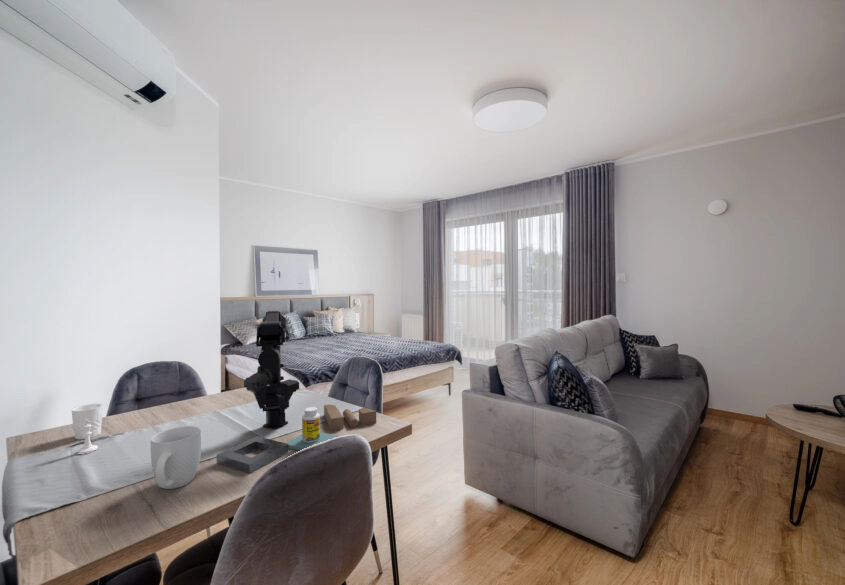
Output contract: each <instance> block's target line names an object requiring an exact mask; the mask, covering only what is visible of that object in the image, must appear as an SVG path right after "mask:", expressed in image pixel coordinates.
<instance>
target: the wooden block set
mask: <svg viewBox="0 0 845 585" xmlns="http://www.w3.org/2000/svg"><path fill="white" fill-rule="evenodd" d="M323 416H324V417H325V419H326V424H327V426H328V427H329V429H330V431H337V430H338V431H339V430H343V429H345V428H344V425H345V424H344V419H345V421H346V422H347V424H348V426H349V427H350V428H356V427H357V426H358V425H359V423H360V424H361V425H362V426H366V425H371V424H377V411H376V410H373V409H371V408H367V407H365V406H364V407H361V408H359V409H358V419H357V418H356V416H355V415H354V413H353V412H352V410H351V409H349V408H346V409H344V410H343V411H342V413H341V411H340V410H339V409H338V408H337V406H336V405H334V404H324V406H323Z"/></svg>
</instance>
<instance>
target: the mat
mask: <svg viewBox="0 0 845 585" xmlns="http://www.w3.org/2000/svg"><path fill="white" fill-rule="evenodd" d="M337 436H338V435H336V434H331V433H327V432H321V431H320V438H319V440H317V441H315V442H311V443H307V442H304V441H303V439H302V434H299V435H298V436H297V437H295V438H292V439H290V440H288V441H287V442H285V443H287V444H288V445H289V449H290V450H291V449H292V450H295V451H299V450H302V449H304V448H307V447H309V446H312V445H314V444H318V443H320V442H323V441H326V440H328V439H332V438H334V437H337Z"/></svg>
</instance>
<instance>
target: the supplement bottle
mask: <svg viewBox="0 0 845 585" xmlns="http://www.w3.org/2000/svg"><path fill="white" fill-rule="evenodd" d="M320 416H321V415H320V413H319V412H318V408H317V407H315V406H310V407H306V408H305V409H304V413H303V415H302V416H301V419H302V420H301V421H302V422H301V423H302V425H301V426H302V427H301V428H302V431H301V433H302V434H301V435H302V439H303V441H304V442H307V443H311V442H315V441H317V440H319V438H320V432H321V417H320Z"/></svg>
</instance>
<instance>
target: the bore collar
mask: <svg viewBox="0 0 845 585" xmlns="http://www.w3.org/2000/svg"><path fill="white" fill-rule="evenodd" d="M289 449H290V448H289V445H288V444H287V443H286V442H282V441H279V440H274V439H270V438H265V437H262V436H258V435H257V436H254V437H252V438H249V439H248V440H246V441H243V442H242V443H241V442H240V443H239V444H236V445H235V446H232V447H230V448H227V449H226V450H224V451H222V452H219V453H217V454H216V464H219V465H222V466H225V467H229V468H232V469H235V470H237V471H241V472H244V473H248V474H251V473H253V472H255V471H257V470H258V469H260V468H262V467H264V466H266V465H267V464H270V463H271V462H273V461H275V460H276V459H279V458H280V457H282V456H284V455H285V454H288V453H289ZM256 450H258V451H260V452H259V453H258V454H255V455H253V456H252V457H250V456H247V454H249V453H251V452H253V451H256Z"/></svg>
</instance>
